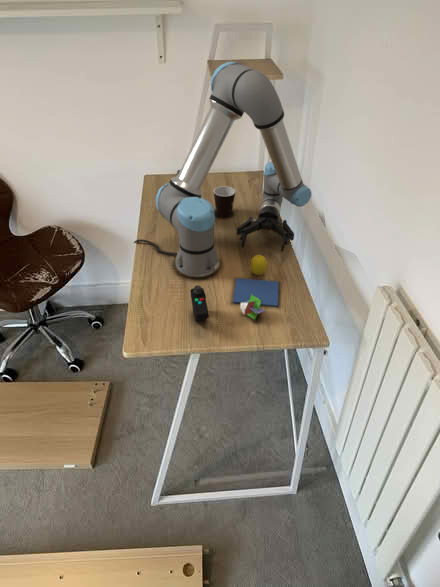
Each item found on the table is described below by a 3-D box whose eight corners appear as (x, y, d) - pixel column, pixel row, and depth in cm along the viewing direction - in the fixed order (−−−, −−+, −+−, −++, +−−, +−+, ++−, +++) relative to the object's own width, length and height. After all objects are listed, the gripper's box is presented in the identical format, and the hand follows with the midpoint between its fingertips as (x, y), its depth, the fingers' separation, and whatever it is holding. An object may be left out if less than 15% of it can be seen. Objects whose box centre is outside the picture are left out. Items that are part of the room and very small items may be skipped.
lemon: (248, 270, 149) (249, 250, 144) (264, 269, 149) (266, 250, 144) (250, 280, 145) (251, 260, 140) (267, 279, 145) (268, 260, 140)
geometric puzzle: (255, 296, 135) (246, 287, 129) (272, 306, 132) (264, 297, 125) (242, 315, 135) (232, 307, 128) (259, 326, 131) (250, 318, 125)
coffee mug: (226, 221, 174) (226, 198, 167) (209, 214, 178) (209, 192, 171) (242, 209, 181) (244, 187, 174) (226, 203, 185) (226, 181, 178)
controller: (204, 306, 135) (203, 280, 128) (210, 334, 126) (210, 308, 119) (190, 307, 134) (189, 282, 128) (195, 335, 125) (194, 310, 119)
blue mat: (232, 303, 136) (232, 301, 136) (236, 279, 145) (236, 278, 145) (277, 306, 135) (277, 305, 134) (278, 282, 144) (278, 281, 144)
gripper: (301, 226, 164) (298, 259, 149) (236, 220, 168) (226, 251, 152) (303, 208, 159) (300, 240, 144) (236, 202, 163) (226, 233, 147)
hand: (262, 246), depth 148 cm, fingers open, 13 cm apart
